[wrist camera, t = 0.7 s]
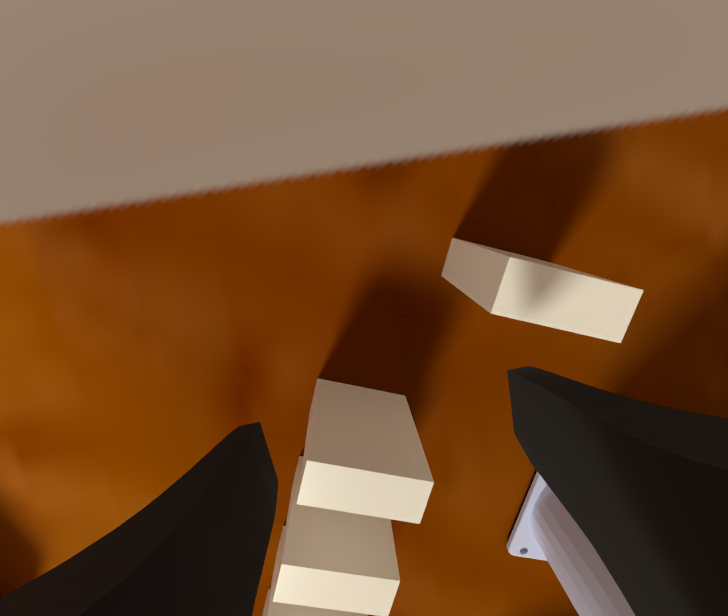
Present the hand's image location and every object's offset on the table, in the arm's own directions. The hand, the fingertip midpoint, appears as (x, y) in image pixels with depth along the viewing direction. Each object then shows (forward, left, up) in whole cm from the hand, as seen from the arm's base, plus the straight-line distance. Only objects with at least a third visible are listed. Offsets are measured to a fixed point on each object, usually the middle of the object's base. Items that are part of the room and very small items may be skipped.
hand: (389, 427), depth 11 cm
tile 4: (-1, +5, -10) cm, 11 cm away
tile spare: (-6, -4, -10) cm, 12 cm away
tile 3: (-1, +10, -10) cm, 14 cm away
